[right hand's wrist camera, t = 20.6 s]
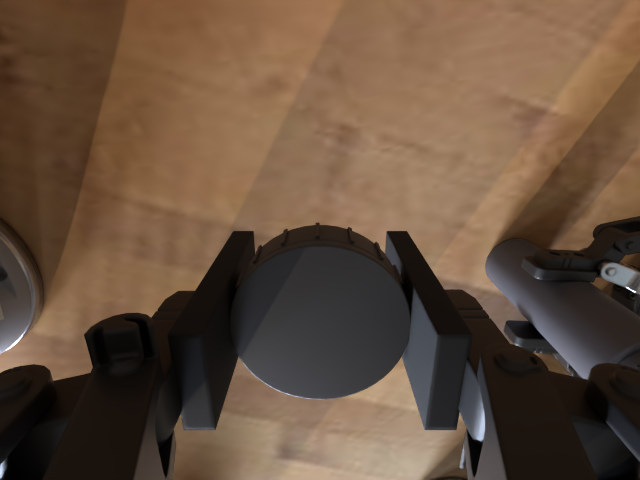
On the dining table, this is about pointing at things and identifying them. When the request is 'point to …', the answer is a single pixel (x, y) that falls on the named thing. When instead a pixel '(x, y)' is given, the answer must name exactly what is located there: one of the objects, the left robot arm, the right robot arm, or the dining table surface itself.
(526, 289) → the bottle
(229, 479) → the dining table surface
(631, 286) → the left robot arm
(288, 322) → the lid
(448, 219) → the dining table surface
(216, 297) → the right robot arm
